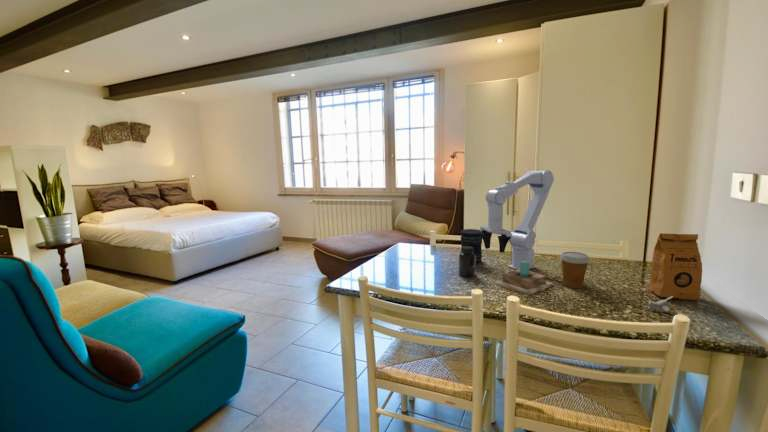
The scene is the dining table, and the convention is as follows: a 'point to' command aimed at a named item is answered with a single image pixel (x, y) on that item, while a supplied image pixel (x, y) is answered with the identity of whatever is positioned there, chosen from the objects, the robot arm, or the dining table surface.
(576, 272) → the disposable coffee cup
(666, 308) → the dog figurine
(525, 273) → the peg
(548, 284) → the socket board
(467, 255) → the supplement bottle
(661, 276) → the coffee package
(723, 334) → the dining table surface
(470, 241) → the storage jar
